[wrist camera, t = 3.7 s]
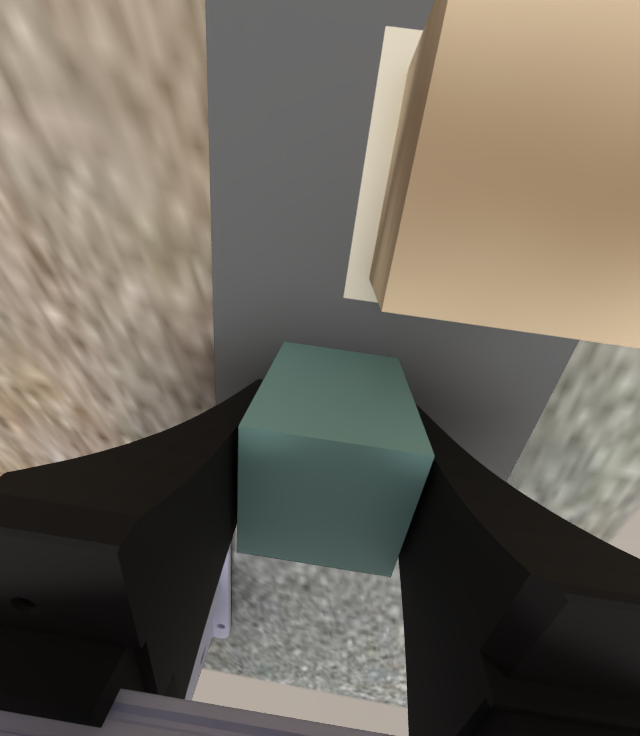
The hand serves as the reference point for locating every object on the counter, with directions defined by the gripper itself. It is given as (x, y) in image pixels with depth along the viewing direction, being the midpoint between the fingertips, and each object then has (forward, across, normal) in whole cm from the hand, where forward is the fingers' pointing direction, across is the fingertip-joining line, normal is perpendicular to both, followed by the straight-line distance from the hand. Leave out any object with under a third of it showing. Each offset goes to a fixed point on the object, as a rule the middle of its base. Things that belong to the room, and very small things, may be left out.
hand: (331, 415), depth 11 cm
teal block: (+1, 0, 0) cm, 1 cm away
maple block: (+1, -3, -7) cm, 8 cm away
